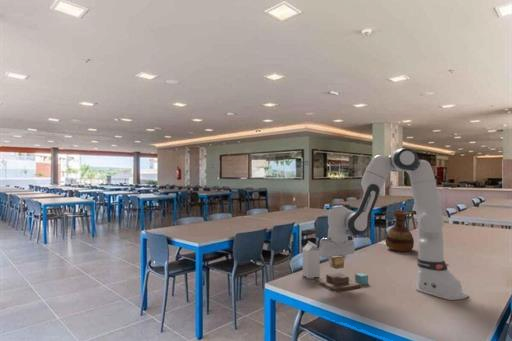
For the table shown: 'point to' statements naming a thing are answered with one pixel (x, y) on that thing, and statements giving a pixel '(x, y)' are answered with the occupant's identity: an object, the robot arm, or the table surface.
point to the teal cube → (361, 278)
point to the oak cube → (337, 262)
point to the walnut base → (338, 287)
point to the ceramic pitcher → (399, 234)
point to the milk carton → (311, 261)
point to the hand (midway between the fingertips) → (336, 263)
